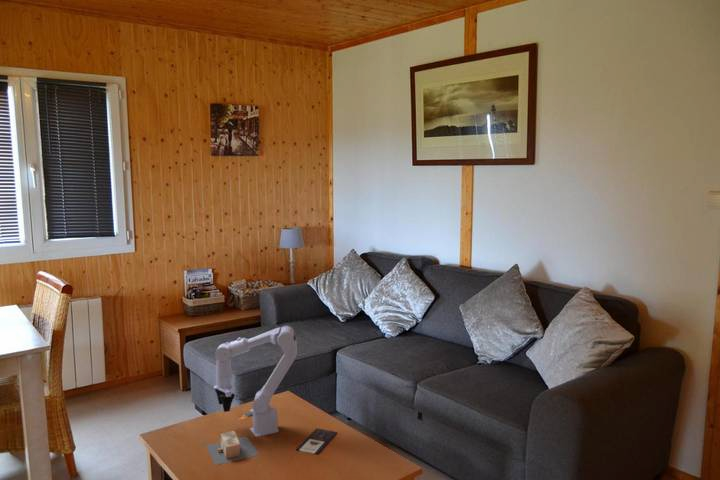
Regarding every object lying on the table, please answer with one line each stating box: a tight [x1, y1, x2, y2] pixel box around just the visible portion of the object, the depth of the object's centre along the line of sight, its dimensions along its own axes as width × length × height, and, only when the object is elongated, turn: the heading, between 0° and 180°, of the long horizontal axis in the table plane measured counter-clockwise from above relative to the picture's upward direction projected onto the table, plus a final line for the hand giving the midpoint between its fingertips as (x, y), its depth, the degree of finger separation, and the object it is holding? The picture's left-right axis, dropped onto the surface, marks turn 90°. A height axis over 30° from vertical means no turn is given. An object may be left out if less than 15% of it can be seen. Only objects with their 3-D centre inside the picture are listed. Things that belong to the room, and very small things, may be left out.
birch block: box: [220, 430, 240, 459], centre depth 211 cm, size 5×5×8 cm
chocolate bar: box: [295, 428, 338, 456], centre depth 220 cm, size 9×1×18 cm
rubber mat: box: [205, 436, 260, 466], centre depth 213 cm, size 16×16×1 cm
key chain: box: [237, 408, 253, 421], centre depth 242 cm, size 13×4×2 cm, turn 152°
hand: (224, 407), depth 227 cm, fingers open, 7 cm apart
